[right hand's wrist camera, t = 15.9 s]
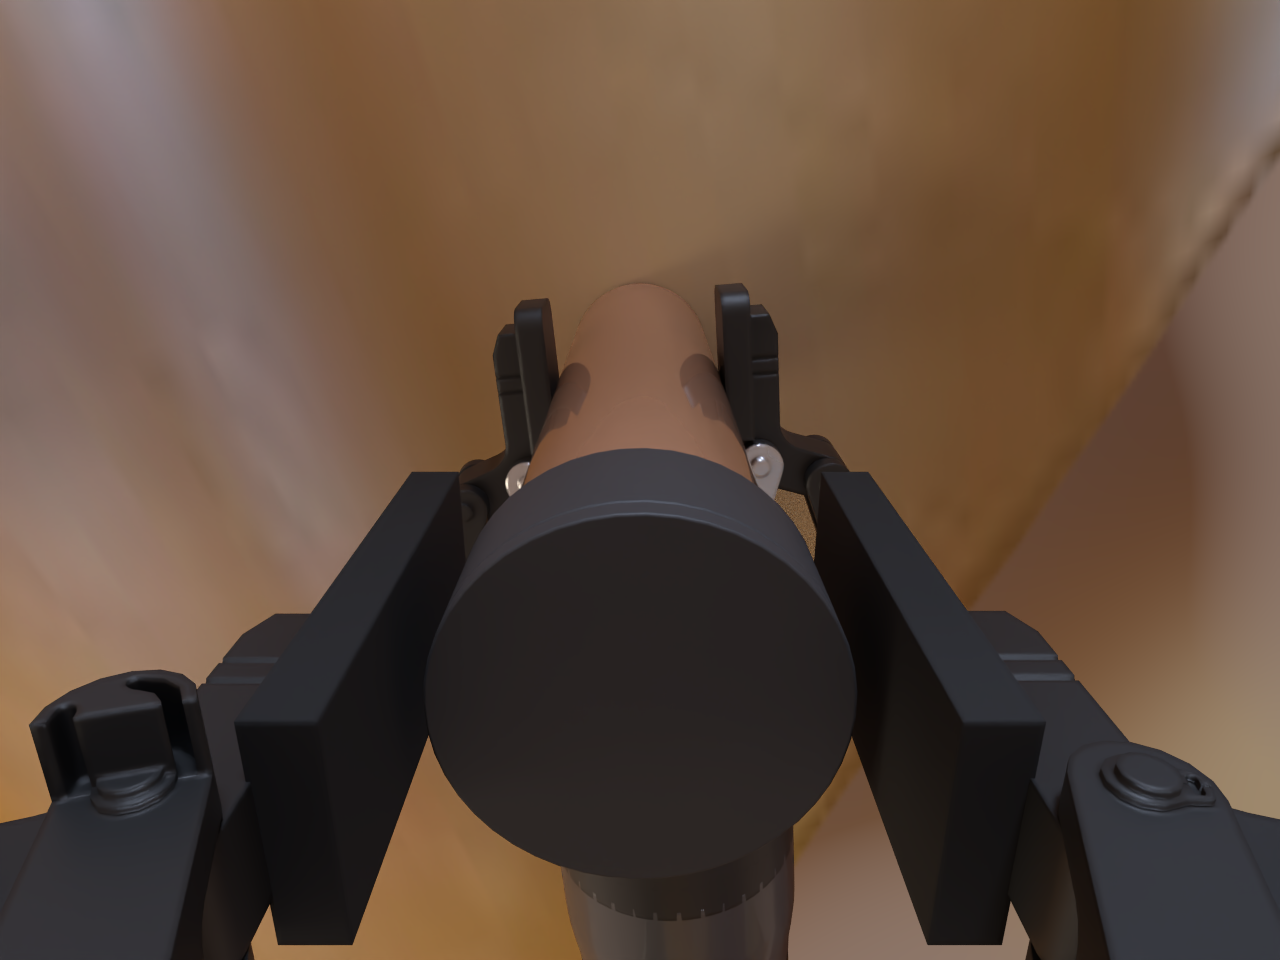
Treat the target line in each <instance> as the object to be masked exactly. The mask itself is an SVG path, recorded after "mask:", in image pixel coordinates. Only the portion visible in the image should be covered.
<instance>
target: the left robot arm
mask: <svg viewBox="0 0 1280 960" xmlns="http://www.w3.org/2000/svg"><path fill="white" fill-rule="evenodd" d="M715 314H716V334H717V355H718V373H719V376H720V379H721V381H722V384H723V387H724V390H725V393H726V395H727V398H728V401H729V404H730V407H731V409H732V412H733V415H734V418H735V421H736V423H737V426H738V429H739V432H740V435H741V437H742V440H743V443H744V446H745V449H746V451H747V454H748V457H749V460H750V463H751V465H752V468H753V471H754V474H755V477H756V479H757V482H758V485H759V487H760V488H761V489H762V490H763V491H764V492H765V493H767V494H768V495H769V496H770V497H771V498H772V499H773V500H774V499H775V496H776V492H777V489H778V488H779V489H782V490H786V491H790V492H794V493H798V494H801V495H804V497H805V500H806V503H807V506H808V509H809V512H810V514H811V517H812V520H813V523H814V526H815V529H816V532H817V520H818V508H819V495H820V482H821V472H849V470H848V469H847V467H846V465H845V464H844V462H843V461H842V459H841V458H840V456H839V455H838V453H837V452H836V450H835V449H834V447H833V446H832V444H831V443H830V441H829V440H828V439H826V438H825V437H823V436H820V435H809V436H802V435H799V434H795V433H791V432H789V431H786V430H785V429H783V428H782V427H781V426H780V410H779V374H778V370H779V367H778V333H777V331H776V328H775V326H774V324H773V322H772V319H771V317H770V315H769V313H768V312H767V311H766V309H765V308H764V307H763V306H762V304H761V305H750V300H749V294H748V291H747V289H746V288H745V287H744V285H743V284H742V283H736V284H724V285H715ZM493 361H494V368H495V375H496V382H497V389H498V393H499V402H500V409H501V416H502V423H503V430H504V437H505V445H506V449H505V450H504V451H503V452H502V453H500V454H498V455H496V456H494V457H491V458H489V459H487V460H472V461H470V462H468V463H466V464H465V465H464V466H463V467H462V469H461V471H460V472H459V482H460V495H461V508H462V520H463V533H464V546H465V558H466V561H467V558H468V556H469V554H470V552H471V550H472V548H473V546H474V544H475V542H476V540H477V538H478V536H479V534H480V532H481V531H482V529H483V528H484V526H485V525H486V524H487V522H488V521H489V519H490V518H491V516H492V515H493V514H494V513H495V512H496V511H497V510H498V508H499V507H500V506H501V505H502V504H503V503H504V502H505V501H506V500H507V499H508V498H509V497H510V496H511V495H513V494H514V493H515V492H516V491H518V490H519V489H520V488H521V485H522V482H523V480H524V477H525V474H526V471H527V468H528V465H529V463H530V460H531V457H532V454H533V451H534V449H535V446H536V443H537V440H538V437H539V435H540V432H541V429H542V426H543V423H544V421H545V418H546V415H547V412H548V409H549V406H550V404H551V401H552V398H553V395H554V392H555V390H556V387H557V384H558V381H559V372H558V364H557V355H556V347H555V339H554V330H553V322H552V313H551V307H550V302H549V299H548V298H545V299H533V300H522V301H521V302H520V303H519V304H518V306H517V307H516V308H515V311H514V324H507V325H505V327H504V328H503V329H502V330H501V332H500V333H499V334H498V337H497V341H496V345H495V349H494V353H493ZM561 870H562V876H563V883H564V890H565V897H566V903H567V908H568V913H569V917H570V921H571V925H572V928H573V932H574V935H575V938H576V941H577V943H578V946H579V949H580V952H581V956H582V960H788V936H789V930H790V925H791V918H792V911H793V903H794V844H793V826H792V827H791V828H789V829H788V830H787V831H786V832H784V833H783V834H782V835H781V836H779V837H778V838H776V839H774V840H773V841H771V842H770V843H768V844H766V845H765V846H763V847H762V848H760V849H758V850H756V851H754V852H752V853H750V854H748V855H746V856H744V857H742V858H740V859H738V860H735V861H733V862H730V863H727V864H724V865H721V866H718V867H715V868H713V869H709V870H705V871H701V872H696V873H692V874H688V875H682V876H674V877H667V878H653V879H627V878H613V877H605V876H599V875H594V874H588V873H583V872H579V871H576V870H572V869H569V868H565V867H562V866H561Z"/></svg>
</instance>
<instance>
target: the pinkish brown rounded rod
mask: <svg viewBox="0 0 1280 960" xmlns="http://www.w3.org/2000/svg"><path fill="white" fill-rule="evenodd" d="M629 448H652V449H663V450H673V451H677V452H682V453H686V454H691V455H696V456H698V457H701V458H704V459H707V460H710V461H713V462H715V463H718V464H721V465H723V466H725V467H727V468H728V469H730V470H732V471H734V472H736V473H738V474H740V475H742V476H743V477H745V478H746V479H748V480H749V481H751V482H752V483H754V484H755V485H757V486H758V487H759V485H758V482H757V479H756V477H755V474H754V471H753V468H752V465H751V463H750V460H749V457H748V454H747V451H746V449H745V446H744V443H743V440H742V437H741V435H740V432H739V429H738V426H737V423H736V421H735V418H734V415H733V412H732V409H731V407H730V404H729V401H728V398H727V395H726V393H725V390H724V387H723V384H722V381H721V379H720V376H719V373H718V370H717V367H716V365H715V362H714V359H713V356H712V353H711V351H710V348H709V345H708V342H707V339H706V337H705V334H704V331H703V328H702V326H701V323H700V321H699V319H698V317H697V315H696V313H695V312H694V311H693V309H692V308H691V307H690V306H689V305H688V303H687V302H686V301H685V300H683V299H682V298H681V297H680V296H678V295H677V294H675V293H674V292H672V291H670V290H668V289H666V288H663V287H660V286H657V285H652V284H646V283H635V284H627V285H623V286H619V287H617V288H614V289H612V290H610V291H608V292H606V293H605V294H603V295H602V296H600V297H599V298H598V299H596V300H595V301H594V302H593V303H592V304H591V305H590V307H589V308H588V309H587V311H586V312H585V313H584V315H583V317H582V319H581V321H580V323H579V325H578V328H577V331H576V333H575V336H574V339H573V342H572V345H571V348H570V350H569V353H568V356H567V359H566V362H565V364H564V367H563V370H562V373H561V376H560V378H559V381H558V384H557V387H556V390H555V392H554V395H553V398H552V401H551V404H550V406H549V409H548V412H547V415H546V418H545V421H544V423H543V426H542V429H541V432H540V435H539V437H538V440H537V443H536V446H535V449H534V451H533V454H532V457H531V460H530V463H529V465H528V468H527V471H526V474H525V477H524V480H523V482H522V485H521V487H522V486H524V485H525V484H526V483H527V482H529V481H531V480H532V479H534V478H536V477H537V476H539V475H541V474H542V473H544V472H546V471H547V470H549V469H551V468H554V467H556V466H558V465H561V464H563V463H565V462H567V461H570V460H573V459H576V458H579V457H583V456H586V455H590V454H593V453H597V452H604V451H610V450H616V449H629Z"/></svg>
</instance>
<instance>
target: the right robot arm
mask: <svg viewBox="0 0 1280 960" xmlns="http://www.w3.org/2000/svg"><path fill="white" fill-rule="evenodd" d="M465 563H466V558H465V546H464V533H463V520H462V508H461V495H460V482H459V472H411V474H410V475H409V477H408V478H407V479H406V481H405V482H404V484H403V485H402V486H401V488H400V489H399V491H398V492H397V493H396V495H395V496H394V498H393V499H392V500H391V502H390V503H389V505H388V506H387V507H386V509H385V510H384V512H383V513H382V514H381V516H380V517H379V519H378V520H377V521H376V523H375V524H374V526H373V527H372V529H371V530H370V531H369V533H368V534H367V536H366V537H365V538H364V540H363V541H362V543H361V544H360V545H359V547H358V548H357V550H356V551H355V552H354V554H353V555H352V557H351V558H350V559H349V561H348V562H347V564H346V565H345V566H344V568H343V569H342V571H341V572H340V573H339V575H338V576H337V578H336V579H335V580H334V582H333V583H332V585H331V586H330V587H329V589H328V590H327V592H326V593H325V594H324V596H323V597H322V599H321V600H320V601H319V603H318V604H317V606H316V607H315V608H314V610H313V611H312V613H311V614H274V615H273V616H271V617H270V618H268V619H266V620H265V621H263V622H262V623H260V624H258V625H257V626H255V627H254V628H252V629H250V630H249V631H247V632H246V633H244V634H243V635H242V636H241V637H240V638H239V639H238V641H237V642H236V643H235V644H234V645H233V647H232V648H231V649H230V650H229V652H228V653H227V654H226V655H225V656H224V658H223V663H219V664H218V665H217V666H216V667H215V669H214V670H213V671H212V672H211V673H210V675H209V676H208V677H207V678H206V684H201V685H200V687H199V688H198V689H196V684H195V683H194V682H192V681H191V680H190V679H188V678H187V677H186V676H184V675H183V674H180V673H175V672H170V671H165V670H146V671H131V672H127V673H123V674H118V675H114V676H110V677H106V678H101V679H99V680H96V681H94V682H91V683H89V684H86V685H84V686H81V687H79V688H77V689H74V690H72V691H70V692H68V693H66V694H65V695H63V696H62V697H60V698H59V699H57V700H56V701H54V702H52V703H51V704H49V705H48V706H46V707H45V708H44V709H43V710H42V711H41V712H40V713H39V714H38V716H37V717H36V718H35V719H34V720H33V721H32V722H31V723H30V724H29V727H30V730H31V733H32V737H33V740H34V743H35V747H36V750H37V753H38V757H39V760H40V763H41V767H42V770H43V773H44V777H45V780H46V783H47V787H48V790H49V793H50V797H51V800H52V803H51V805H50V807H49V809H48V812H47V813H44V814H40V815H36V816H33V817H28V818H23V819H19V820H14V821H9V822H4V823H0V960H254V955H253V950H252V946H251V941H252V939H253V937H254V935H255V933H256V931H257V929H258V927H259V925H260V923H261V921H262V919H263V917H264V915H265V913H266V911H267V909H268V907H269V905H270V907H271V912H272V917H273V922H274V927H275V932H276V937H277V942H278V945H353V942H354V939H355V936H356V934H357V931H358V928H359V925H360V923H361V920H362V917H363V914H364V912H365V909H366V906H367V903H368V901H369V898H370V895H371V892H372V890H373V887H374V884H375V881H376V878H377V876H378V873H379V870H380V867H381V865H382V862H383V859H384V856H385V854H386V851H387V848H388V845H389V843H390V840H391V837H392V834H393V832H394V829H395V826H396V823H397V821H398V818H399V815H400V812H401V810H402V807H403V804H404V801H405V799H406V796H407V793H408V790H409V788H410V785H411V782H412V779H413V777H414V774H415V771H416V768H417V766H418V763H419V760H420V757H421V754H422V752H423V749H424V746H425V743H426V741H427V738H428V735H429V734H428V731H427V726H426V719H425V712H424V677H425V671H426V665H427V658H428V655H429V652H430V649H431V646H432V643H433V640H434V637H435V634H436V631H437V629H438V627H439V624H440V622H441V620H442V617H443V615H444V613H445V610H446V608H447V606H448V603H449V601H450V599H451V596H452V594H453V591H454V589H455V587H456V584H457V582H458V580H459V577H460V575H461V573H462V570H463V568H464V566H465ZM814 563H815V566H816V568H817V570H818V573H819V575H820V577H821V580H822V582H823V584H824V587H825V589H826V591H827V594H828V596H829V599H830V601H831V603H832V606H833V608H834V610H835V613H836V615H837V617H838V620H839V622H840V624H841V627H842V629H843V631H844V634H845V636H846V638H847V641H848V643H849V646H850V650H851V654H852V658H853V662H854V666H855V673H856V684H857V706H856V718H855V722H854V727H853V732H852V738H853V741H854V743H855V746H856V749H857V752H858V755H859V757H860V760H861V763H862V766H863V768H864V771H865V774H866V776H867V779H868V782H869V785H870V788H871V790H872V793H873V796H874V799H875V801H876V804H877V807H878V810H879V812H880V815H881V818H882V821H883V823H884V826H885V829H886V832H887V834H888V837H889V840H890V843H891V845H892V848H893V851H894V854H895V856H896V859H897V862H898V865H899V868H900V870H901V873H902V876H903V878H904V881H905V884H906V887H907V890H908V892H909V895H910V898H911V900H912V903H913V906H914V909H915V912H916V914H917V917H918V920H919V923H920V925H921V928H922V931H923V934H924V936H925V939H926V942H927V944H928V945H1002V942H1003V937H1004V932H1005V927H1006V922H1007V916H1008V912H1009V907H1010V902H1012V904H1013V906H1014V908H1015V910H1016V912H1017V914H1018V916H1019V918H1020V920H1021V922H1022V924H1023V926H1024V928H1025V930H1026V932H1027V934H1028V936H1029V939H1030V941H1029V946H1028V950H1027V955H1026V960H1280V819H1275V818H1270V817H1266V816H1261V815H1256V814H1251V813H1247V812H1243V811H1240V810H1236V809H1232V808H1231V806H1230V804H1229V801H1228V800H1227V799H1226V797H1225V796H1224V795H1223V793H1222V792H1221V791H1220V789H1219V788H1218V787H1217V785H1216V784H1215V783H1214V782H1213V781H1212V780H1211V779H1209V778H1208V777H1207V776H1205V775H1204V774H1203V773H1201V772H1200V771H1199V770H1197V769H1196V768H1195V767H1193V766H1192V765H1191V764H1189V763H1187V762H1185V761H1183V760H1180V759H1178V758H1176V757H1174V756H1172V755H1170V754H1168V753H1166V752H1163V751H1161V750H1158V749H1154V748H1151V747H1147V746H1143V745H1140V744H1136V743H1132V742H1129V741H1128V739H1127V738H1126V737H1125V736H1124V735H1123V733H1122V732H1121V731H1120V730H1119V729H1118V727H1117V726H1116V725H1115V724H1114V723H1113V721H1112V720H1111V719H1110V718H1109V717H1108V715H1107V714H1106V713H1105V712H1104V711H1103V709H1102V708H1101V707H1100V706H1099V704H1098V703H1097V702H1096V701H1095V700H1094V698H1093V697H1092V696H1091V695H1090V694H1089V692H1088V691H1087V690H1086V689H1085V688H1084V686H1083V685H1082V684H1081V683H1080V682H1079V681H1075V679H1074V674H1073V673H1072V672H1071V671H1070V670H1069V668H1068V667H1067V666H1066V665H1065V664H1064V662H1063V661H1062V660H1058V655H1057V654H1056V653H1055V651H1054V650H1053V649H1052V648H1051V647H1050V645H1049V644H1048V643H1047V642H1046V641H1045V639H1044V638H1043V637H1042V636H1041V635H1040V633H1039V632H1038V631H1036V630H1035V629H1033V628H1031V627H1030V626H1028V625H1027V624H1025V623H1023V622H1022V621H1020V620H1019V619H1017V618H1015V617H1014V616H1012V615H1011V614H1009V613H1007V612H1006V611H967V610H966V608H965V607H964V606H963V604H962V603H961V601H960V600H959V599H958V597H957V596H956V594H955V593H954V592H953V590H952V589H951V587H950V586H949V585H948V583H947V582H946V580H945V579H944V578H943V576H942V575H941V573H940V572H939V571H938V569H937V568H936V566H935V565H934V564H933V562H932V561H931V559H930V558H929V557H928V555H927V554H926V552H925V551H924V550H923V548H922V547H921V545H920V544H919V543H918V541H917V540H916V538H915V537H914V536H913V534H912V533H911V531H910V530H909V529H908V527H907V526H906V524H905V523H904V522H903V520H902V519H901V517H900V516H899V515H898V513H897V512H896V510H895V509H894V508H893V506H892V505H891V503H890V502H889V500H888V499H887V498H886V496H885V495H884V493H883V492H882V491H881V489H880V488H879V486H878V485H877V484H876V482H875V481H874V479H873V478H872V477H871V475H870V474H869V472H821V482H820V495H819V508H818V520H817V533H816V545H815V558H814Z"/></svg>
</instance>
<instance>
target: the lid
mask: <svg viewBox="0 0 1280 960" xmlns="http://www.w3.org/2000/svg"><path fill="white" fill-rule="evenodd" d="M856 706H857V684H856V673H855V666H854V662H853V658H852V654H851V650H850V646H849V643H848V641H847V638H846V636H845V634H844V631H843V629H842V627H841V624H840V622H839V620H838V617H837V615H836V613H835V610H834V608H833V606H832V603H831V601H830V599H829V596H828V594H827V591H826V589H825V587H824V584H823V582H822V580H821V577H820V575H819V573H818V570H817V568H816V566H815V563H814V561H813V559H812V556H811V554H810V552H809V549H808V547H807V545H806V542H805V540H804V539H803V537H802V535H801V534H800V532H799V531H798V529H797V527H796V526H795V524H794V522H793V521H792V520H791V519H790V518H789V516H788V515H787V514H786V513H785V512H784V510H783V509H782V508H781V507H780V506H779V504H778V503H776V502H775V501H774V500H773V499H772V498H771V497H770V496H769V495H768V494H767V493H765V492H764V491H763V490H762V489H761V488H760V487H758V486H757V485H755V484H754V483H752V482H751V481H749V480H748V479H746V478H745V477H743V476H742V475H740V474H738V473H736V472H734V471H732V470H730V469H728V468H727V467H725V466H723V465H721V464H718V463H715V462H713V461H710V460H707V459H704V458H701V457H698V456H696V455H691V454H686V453H682V452H677V451H673V450H663V449H652V448H629V449H616V450H610V451H604V452H597V453H593V454H590V455H586V456H583V457H579V458H576V459H573V460H570V461H567V462H565V463H563V464H561V465H558V466H556V467H554V468H551V469H549V470H547V471H546V472H544V473H542V474H541V475H539V476H537V477H536V478H534V479H532V480H531V481H529V482H527V483H526V484H525V485H524V486H522V487H521V488H520V489H519V490H518V491H516V492H515V493H514V494H513V495H511V496H510V497H509V498H508V499H507V500H506V501H505V502H504V503H503V504H502V505H501V506H500V507H499V508H498V510H497V511H496V512H495V513H494V514H493V515H492V516H491V518H490V519H489V521H488V522H487V524H486V525H485V526H484V528H483V529H482V531H481V532H480V534H479V536H478V538H477V540H476V542H475V544H474V546H473V548H472V550H471V552H470V554H469V556H468V558H467V561H466V563H465V566H464V568H463V570H462V573H461V575H460V577H459V580H458V582H457V584H456V587H455V589H454V591H453V594H452V596H451V599H450V601H449V603H448V606H447V608H446V610H445V613H444V615H443V617H442V620H441V622H440V624H439V627H438V629H437V631H436V634H435V637H434V640H433V643H432V646H431V649H430V652H429V655H428V658H427V665H426V671H425V677H424V712H425V719H426V726H427V731H428V734H429V737H430V741H431V744H432V747H433V750H434V754H435V756H436V758H437V760H438V762H439V764H440V766H441V768H442V770H443V773H444V775H445V776H446V778H447V779H448V781H449V782H450V784H451V785H452V787H453V788H454V790H455V791H456V793H457V794H458V796H459V797H460V798H461V799H462V800H463V802H464V803H465V804H466V805H467V806H468V807H469V808H470V810H471V811H472V812H473V813H474V814H475V815H476V816H477V817H478V818H480V819H481V820H482V821H483V822H484V823H485V824H486V825H487V826H489V827H490V828H491V829H492V830H493V831H495V832H496V833H497V834H499V835H500V836H502V837H503V838H505V839H506V840H508V841H509V842H510V843H512V844H513V845H515V846H517V847H519V848H521V849H523V850H525V851H526V852H528V853H530V854H532V855H534V856H536V857H538V858H541V859H543V860H546V861H548V862H551V863H553V864H556V865H558V866H562V867H565V868H569V869H572V870H576V871H579V872H583V873H588V874H594V875H599V876H605V877H613V878H627V879H653V878H667V877H674V876H682V875H688V874H692V873H696V872H701V871H705V870H709V869H713V868H715V867H718V866H721V865H724V864H727V863H730V862H733V861H735V860H738V859H740V858H742V857H744V856H746V855H748V854H750V853H752V852H754V851H756V850H758V849H760V848H762V847H763V846H765V845H766V844H768V843H770V842H771V841H773V840H774V839H776V838H778V837H779V836H781V835H782V834H783V833H784V832H786V831H787V830H788V829H789V828H791V827H792V826H793V825H794V824H795V823H797V822H798V821H799V820H800V819H801V818H802V817H803V816H804V815H805V814H806V813H807V812H808V811H809V810H810V809H811V808H812V807H813V806H814V805H815V804H816V802H817V801H818V800H819V798H820V797H821V796H822V794H823V793H824V792H825V790H826V789H827V788H828V786H829V785H830V784H831V782H832V780H833V778H834V776H835V775H836V773H837V771H838V769H839V767H840V766H841V764H842V762H843V759H844V756H845V754H846V751H847V748H848V746H849V743H850V740H851V736H852V732H853V727H854V722H855V718H856Z"/></svg>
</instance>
